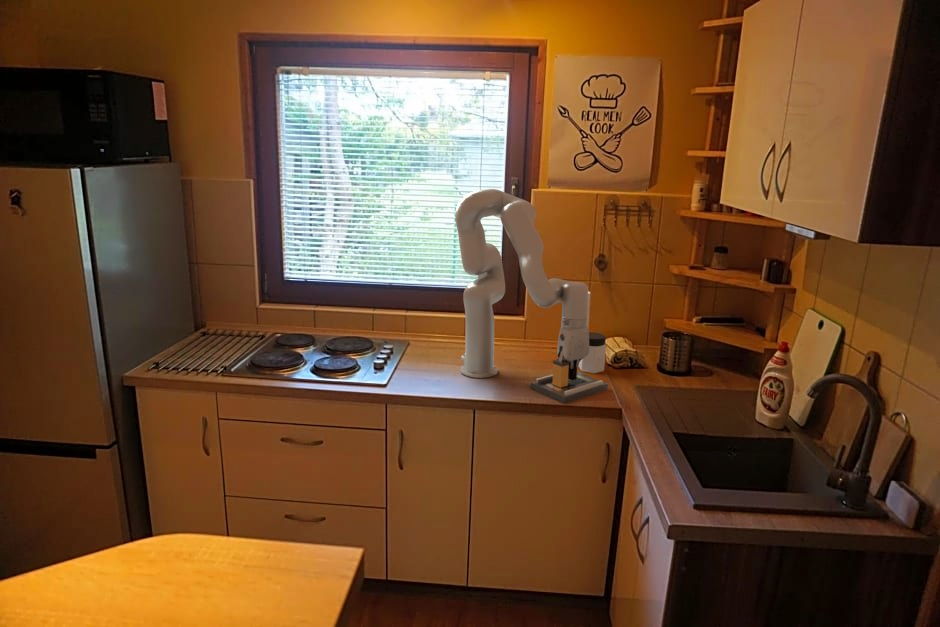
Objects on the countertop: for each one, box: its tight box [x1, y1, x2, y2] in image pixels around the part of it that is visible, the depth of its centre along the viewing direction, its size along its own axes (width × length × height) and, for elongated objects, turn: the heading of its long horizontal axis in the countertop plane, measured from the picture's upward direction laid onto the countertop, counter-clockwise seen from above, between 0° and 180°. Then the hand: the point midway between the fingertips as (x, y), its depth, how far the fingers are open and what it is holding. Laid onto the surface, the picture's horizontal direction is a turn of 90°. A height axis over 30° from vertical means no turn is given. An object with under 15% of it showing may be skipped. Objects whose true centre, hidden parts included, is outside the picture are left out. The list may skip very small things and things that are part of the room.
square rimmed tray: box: [535, 373, 604, 395], centre depth 197 cm, size 14×16×1 cm
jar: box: [578, 331, 607, 374], centre depth 214 cm, size 9×8×12 cm
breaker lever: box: [552, 358, 569, 388], centre depth 194 cm, size 4×3×8 cm
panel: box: [529, 371, 609, 405], centre depth 198 cm, size 15×19×2 cm
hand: (571, 378), depth 198 cm, fingers closed
